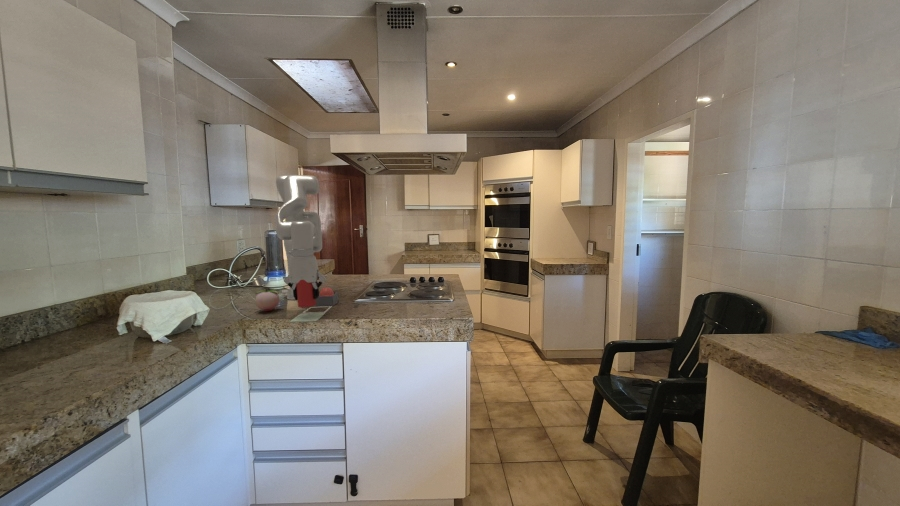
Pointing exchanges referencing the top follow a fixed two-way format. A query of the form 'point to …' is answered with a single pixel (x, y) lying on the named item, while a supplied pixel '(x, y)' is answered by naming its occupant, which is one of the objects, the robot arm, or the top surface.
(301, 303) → the beer can
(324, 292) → the dome
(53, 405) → the top surface
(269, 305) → the decorative fruit
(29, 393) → the top surface
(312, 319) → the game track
